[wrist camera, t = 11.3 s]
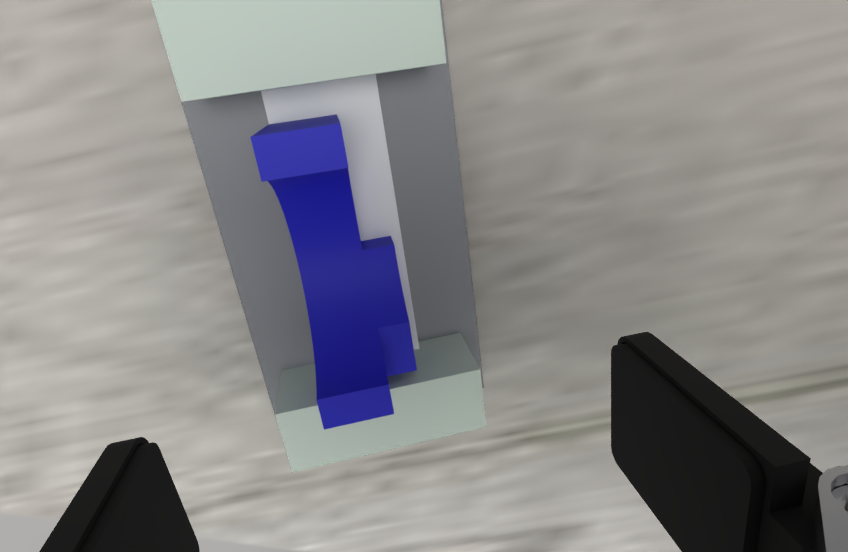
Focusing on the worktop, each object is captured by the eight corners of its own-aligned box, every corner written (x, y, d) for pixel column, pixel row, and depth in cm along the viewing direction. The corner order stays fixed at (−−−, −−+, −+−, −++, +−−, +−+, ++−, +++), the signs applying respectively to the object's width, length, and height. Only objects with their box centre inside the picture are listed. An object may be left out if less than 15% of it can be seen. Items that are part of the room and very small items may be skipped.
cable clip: (407, 341, 27) (428, 406, 22) (324, 358, 27) (323, 429, 21) (369, 109, 23) (384, 117, 17) (268, 124, 22) (250, 136, 17)
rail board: (432, -30, 23) (460, -60, 18) (478, 377, 31) (505, 430, 27) (159, 4, 22) (112, -19, 17) (282, 421, 30) (274, 485, 25)
